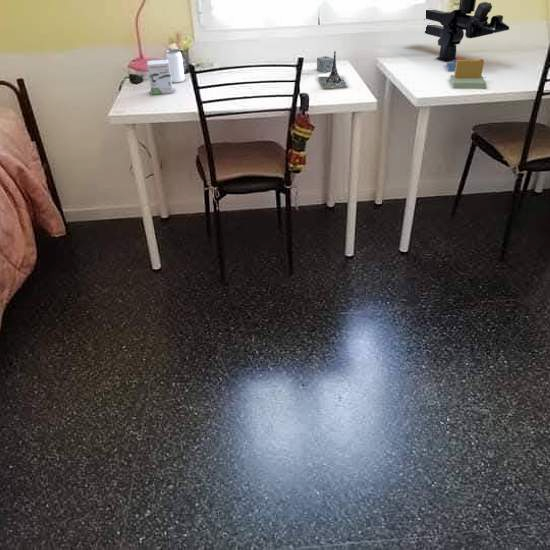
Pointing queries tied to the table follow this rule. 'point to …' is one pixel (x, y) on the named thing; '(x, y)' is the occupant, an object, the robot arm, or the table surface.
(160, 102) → the table surface
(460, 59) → the red button
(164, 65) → the ink box
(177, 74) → the can
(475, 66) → the brass bar
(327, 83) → the eiffel tower figurine
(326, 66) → the dice cube
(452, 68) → the button box
